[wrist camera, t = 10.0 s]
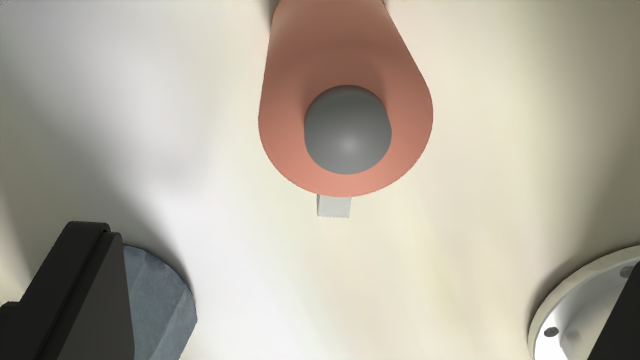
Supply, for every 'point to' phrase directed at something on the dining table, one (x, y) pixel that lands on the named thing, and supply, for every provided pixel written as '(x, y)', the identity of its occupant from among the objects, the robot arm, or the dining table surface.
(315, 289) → the dining table surface
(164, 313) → the moka pot
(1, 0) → the grey metal box
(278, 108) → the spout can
